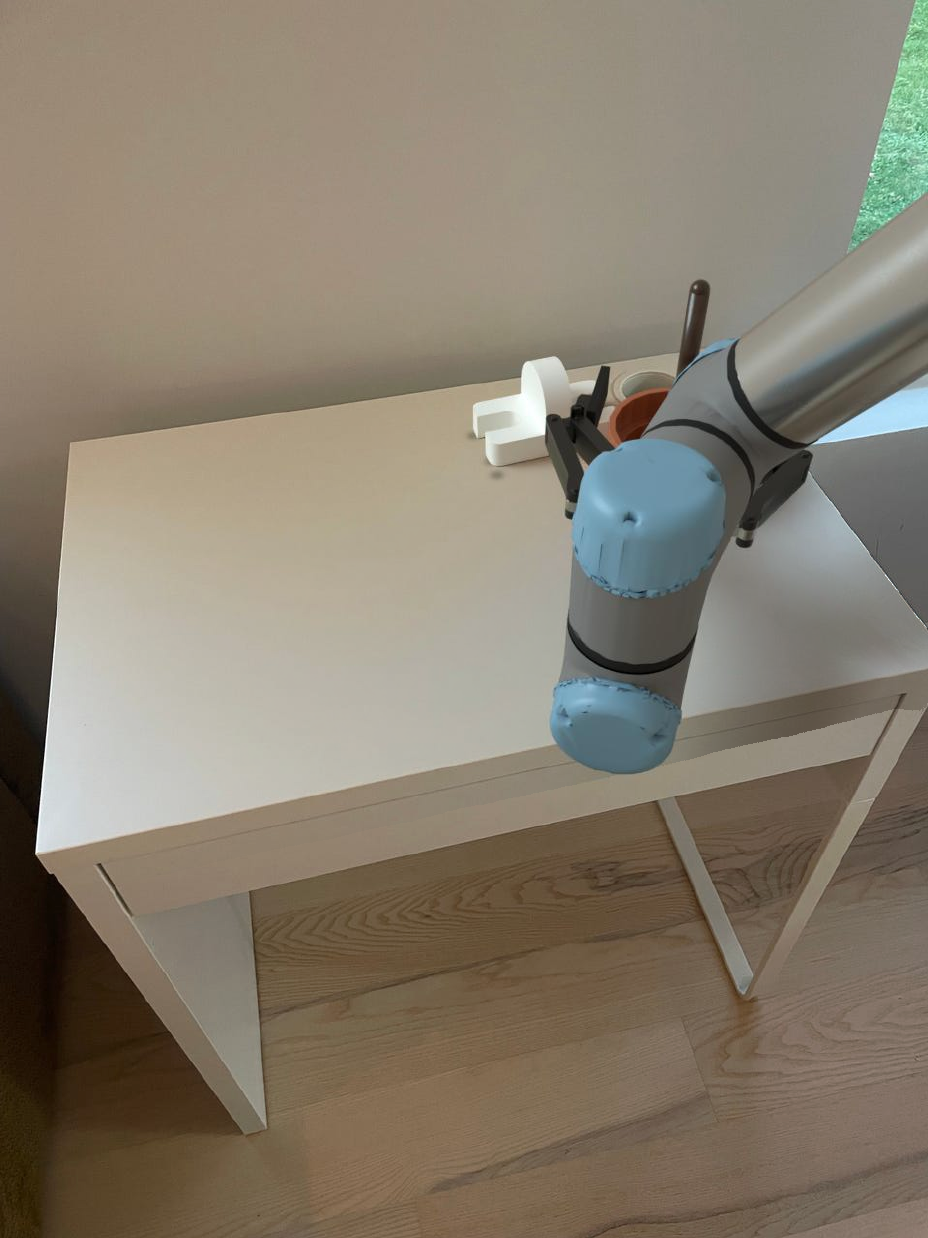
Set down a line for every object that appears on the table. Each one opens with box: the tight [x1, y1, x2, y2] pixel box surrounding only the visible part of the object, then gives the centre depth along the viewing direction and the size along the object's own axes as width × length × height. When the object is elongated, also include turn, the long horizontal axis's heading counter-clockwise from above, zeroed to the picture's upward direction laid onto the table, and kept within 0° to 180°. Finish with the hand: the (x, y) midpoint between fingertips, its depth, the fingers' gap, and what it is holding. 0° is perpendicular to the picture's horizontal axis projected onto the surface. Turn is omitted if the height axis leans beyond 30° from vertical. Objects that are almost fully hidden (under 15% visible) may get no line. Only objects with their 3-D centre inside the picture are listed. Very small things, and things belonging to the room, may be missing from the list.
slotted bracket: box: [472, 355, 616, 467], centre depth 92 cm, size 13×7×8 cm, turn 107°
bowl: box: [607, 387, 672, 449], centre depth 88 cm, size 12×12×6 cm
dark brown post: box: [674, 278, 711, 381], centre depth 83 cm, size 5×5×19 cm
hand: (686, 390), depth 80 cm, fingers open, 13 cm apart
